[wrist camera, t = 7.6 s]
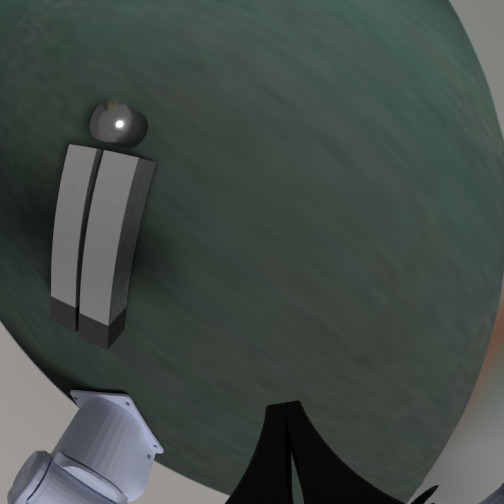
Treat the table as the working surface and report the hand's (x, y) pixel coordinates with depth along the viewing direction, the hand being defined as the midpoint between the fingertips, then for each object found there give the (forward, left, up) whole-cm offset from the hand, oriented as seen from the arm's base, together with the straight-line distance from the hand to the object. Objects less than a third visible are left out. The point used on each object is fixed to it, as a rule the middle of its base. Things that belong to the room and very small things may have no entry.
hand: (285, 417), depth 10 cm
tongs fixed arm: (+9, +11, -9) cm, 17 cm away
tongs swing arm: (+7, +9, -9) cm, 15 cm away
